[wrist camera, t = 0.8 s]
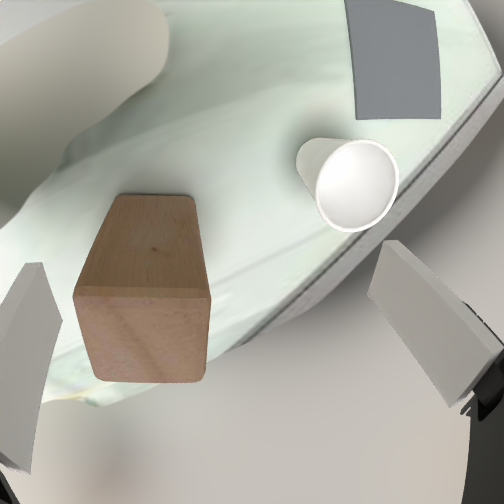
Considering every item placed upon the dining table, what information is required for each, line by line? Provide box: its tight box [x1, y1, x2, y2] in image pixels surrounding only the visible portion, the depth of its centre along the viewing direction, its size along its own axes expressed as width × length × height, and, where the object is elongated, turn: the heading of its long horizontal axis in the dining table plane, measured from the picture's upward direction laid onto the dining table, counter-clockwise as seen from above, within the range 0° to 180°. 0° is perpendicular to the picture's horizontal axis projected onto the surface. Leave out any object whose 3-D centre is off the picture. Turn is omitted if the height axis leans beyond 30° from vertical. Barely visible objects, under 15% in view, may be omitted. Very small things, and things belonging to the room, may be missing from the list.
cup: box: [296, 138, 399, 232], centre depth 33 cm, size 10×10×11 cm
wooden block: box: [73, 195, 211, 383], centre depth 29 cm, size 10×10×20 cm
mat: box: [344, 0, 441, 120], centre depth 32 cm, size 18×16×1 cm
